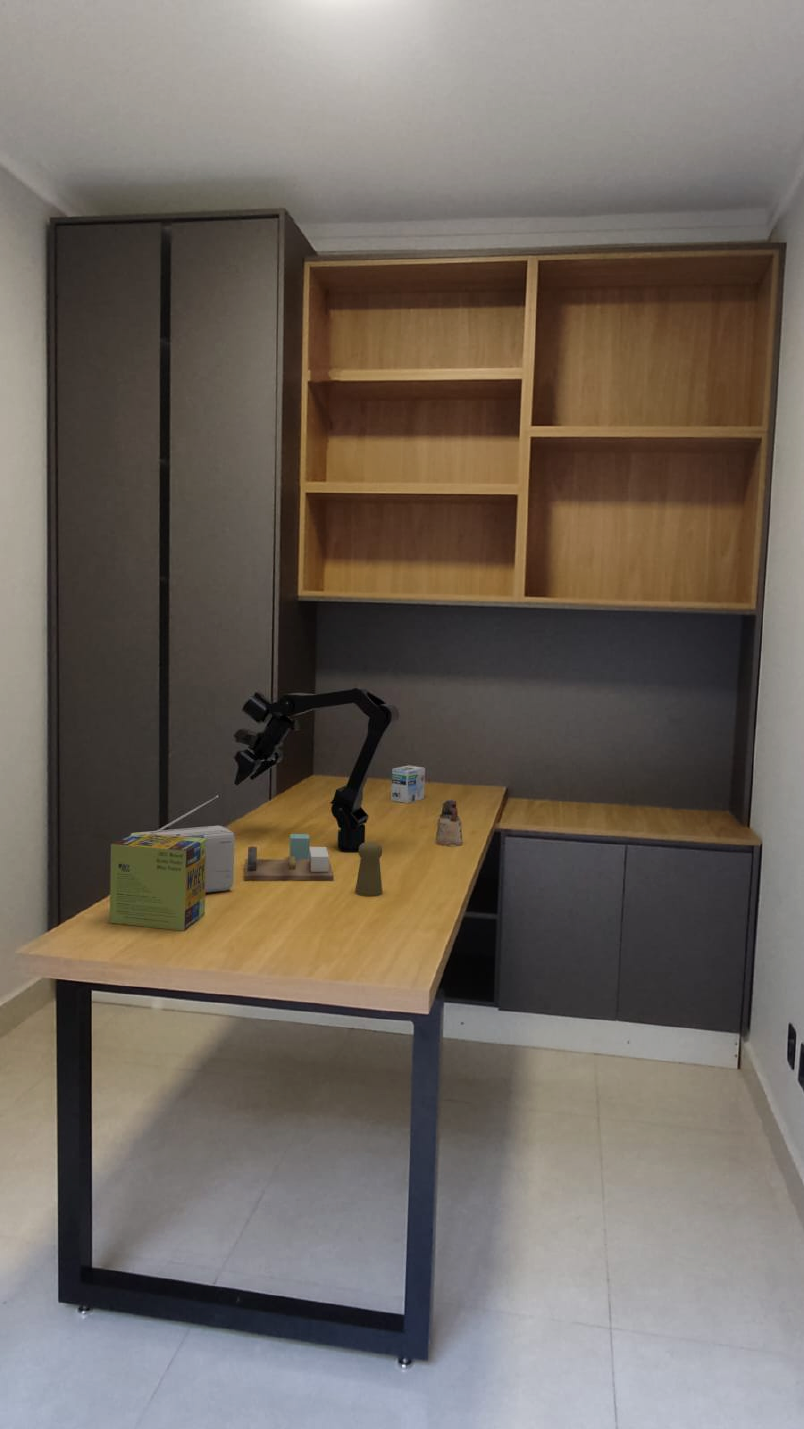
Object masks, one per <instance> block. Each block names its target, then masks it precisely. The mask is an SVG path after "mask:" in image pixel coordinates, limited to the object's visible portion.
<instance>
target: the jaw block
mask: <svg viewBox="0 0 804 1429" xmlns="http://www.w3.org/2000/svg"><path fill="white" fill-rule="evenodd" d="M309 847H310V835H309V833H307V834H305V833H290V834H289V856H294V857H295V859H309Z"/></svg>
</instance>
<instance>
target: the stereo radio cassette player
mask: <svg viewBox="0 0 804 1429" xmlns="http://www.w3.org/2000/svg"><path fill="white" fill-rule="evenodd" d="M218 798H219V795H216V796H215V797H214V798H212V799H209V800H208V801H206V802H205V803H203V804H201V805H198V806H197V807H195V808H193V809H192V810H190V811H188V812H187V813H184V814H183V815H181V816H179V817H178V818H176V819H175V820H172V821H170V823H167V824H166V825H164V826H162V827H161V828H159V829H157V830H153V831H152V830H151V831H141V832H139V831H138V832H137V833H145V834H157V835H171V836H182V837H194V838H206V876H205V894H206V893H213V892H214V893H215V892H227V891H228V890H230V888H233V885H234V874H235V871H234V870H235V845H236V844H235V842H236V841H235V838H236V837H235V833H234V831H231V830H229V829H228V828H227V827H224V826H222V825H209V826H199V827H198V826H197V827H188V828H187V827H186V828H184V827H183V828H174V829H167V828H168V827H170V826H172V825H173V824H175V823H177V822H179V821H181V820H182V819H183V818H185V817H187V816H188V815H191V814H192V813H194V812H196V811H197V810H199V809H201V808H202V807H204V806H205V805H207V804H208V803H211V802H212V801H213V800H215V799H218ZM135 833H136V832H132V833H130V836H131V835H133V834H135Z"/></svg>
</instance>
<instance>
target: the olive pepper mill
mask: <svg viewBox="0 0 804 1429" xmlns="http://www.w3.org/2000/svg"><path fill="white" fill-rule="evenodd" d="M382 855H383V847H382V845H381V844H379V843H377V842H374V841H366V842H365V843H362V844H361V845H360V846H359V852H358V856H359V857H360V860H359V867H358V873H357V878H356V883H355V890H354V893H355V895H357V896H361V897H370V898H371V897H379V896H382V895H383V886H382V884H383V883H382V873H381V862H380V861H381V860H380V858H381V857H382Z"/></svg>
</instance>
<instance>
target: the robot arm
mask: <svg viewBox="0 0 804 1429" xmlns="http://www.w3.org/2000/svg"><path fill="white" fill-rule="evenodd" d="M350 704H355V705H356V706H357V707H358V708H359V709H360V711H361V712H362V713H363V714H364V715H366V716H367V717H368V722H367V734H366V738H365V740H364V743H363V744H362V747H361V749H360V752H359V755H358V756H357V759H356V762H355V763H354V767H353V769H352V771H351V773H350V776H349V778H348V781H347V783H346V785H343V786H341V787H339V788H337V789H335V793H334V796H333V799H332V800H331V802H329V803H330V805H331V807H330V812H331V814H332V816H333V817H334V819H335V821H336V823H337V824H336V825H337V826H338V829H337V832H336V833H337V834H336V835H337V836H336V838H337V839H336V842H337V843H336V846H337V848H338V849H339V852H354V853H355V852H359V846H360V845H361V844H362V843H365V841H366V839H365V838H366V825H365V824H366V823H367V822H368V819H369V814H368V813H367V812H366V811H365V809H363V807H362V803H363V798H364V796H363V795H364V787H365V784H366V783H367V779H368V778H369V776H370V773H371V770H372V768H373V766H374V763H375V761H376V758H377V756H378V755H379V751H380V750H381V747H382V745H383V742H384V741H385V739H386V738H387V736H389V734H390V732H392V731H393V728H394V727H395V726H396V724H397V722H398V721H399V718H400V712H399V710H398V707H396V706H395V704H392V703H387V702H386V701H385V700H383V699H381V697H378V696H377V695H375V694H373V693H371V692H370V691H369V690H368V689H367V688H365V687H364V686H358V687H357V686H356V687H354V688H351V689H350V688H349V689H345V690H344V689H343V690H337V691H331V692H324V693H323V692H322V693H305V692H294V693H287V694H284V695H282V696H280V698H279V700H278V701H271V700H270V699H268V698H267V697H266V696H265V695H264V694H263V693H262V692H261V691H256V692H255V693H254V694H253V695H252V696H251V697H250V698H249V699H248V700H246V701H245V703H244V704H243V707H242V709H241V711H242V713H243V714H245V715H246V716H248V718H250V719H252V720H253V721H254V722H255V723H257V724H258V725H261V724H266V725H265V727H264V728H263V729H262V731H259V732H258V731H255V730H251V729H248V728H239V729H237V730H236V731H235V733H234V734H233V737H234V738H235V739H234V742H235V743H239V744H243V745H246V746H248V747H247V748H248V749H242V750H238V751H236V752H235V754H234V756H233V759H234V761H235V762H236V763H237V771H236V775H235V779H234V783H233V784H234V785H236V787H237V786H239V785H240V784H242V783H243V782H244V781H246V780H247V779H250V780H251V781H254V780H255V779H257V778H258V777H260V776H261V775H263V774H264V773H266V772H267V771H268V770H270V769H271V768H273V767H275V766H276V765H277V764H279V763H281V762H282V760H283V758H284V753H283V751H282V750H280V749H279V747H283V745H284V742H283V741H284V739H285V738H286V736H287V734H288V733H289V731H290V730H291V731H293V732H294V731H299V730H300V725H299V720H298V719H294V720H293V719H292V718H290V717H294V716H297V715H302V714H305V713H307V712H310V711H314V710H315V709H322V708H328V707H335V706H342V705H350Z"/></svg>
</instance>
